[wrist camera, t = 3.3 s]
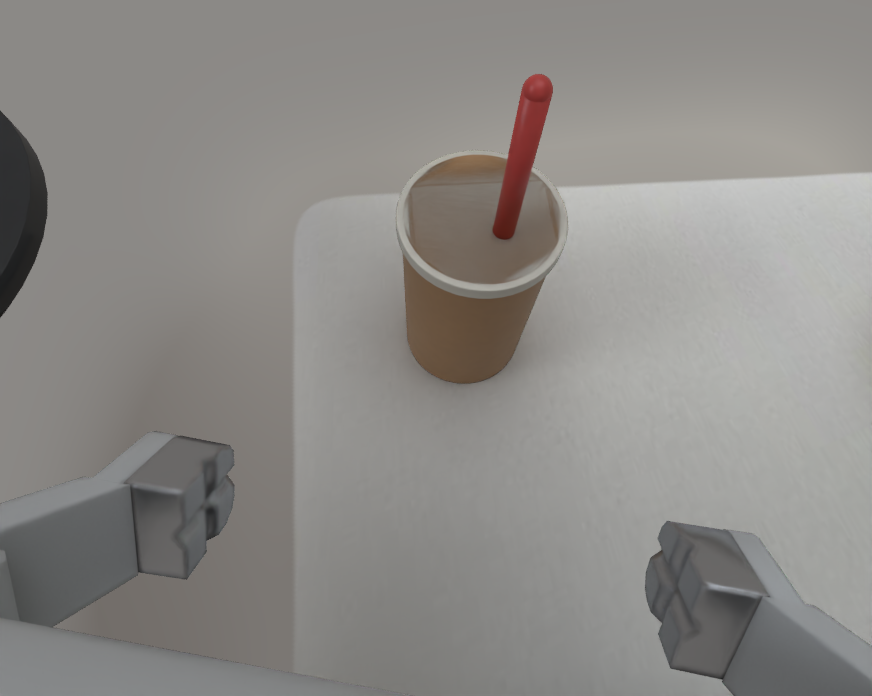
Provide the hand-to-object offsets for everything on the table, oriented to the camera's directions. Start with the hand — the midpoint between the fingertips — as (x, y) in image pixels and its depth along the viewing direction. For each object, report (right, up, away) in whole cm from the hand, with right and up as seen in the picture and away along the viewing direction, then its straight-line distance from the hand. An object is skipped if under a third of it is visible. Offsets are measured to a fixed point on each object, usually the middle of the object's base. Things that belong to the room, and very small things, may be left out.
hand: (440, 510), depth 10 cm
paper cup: (+1, +4, +19) cm, 19 cm away
